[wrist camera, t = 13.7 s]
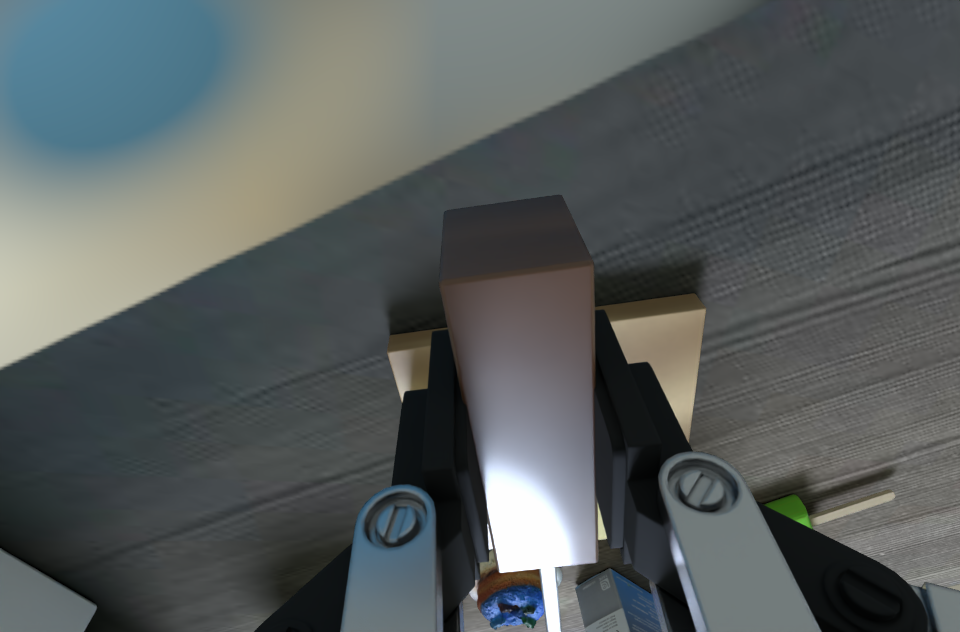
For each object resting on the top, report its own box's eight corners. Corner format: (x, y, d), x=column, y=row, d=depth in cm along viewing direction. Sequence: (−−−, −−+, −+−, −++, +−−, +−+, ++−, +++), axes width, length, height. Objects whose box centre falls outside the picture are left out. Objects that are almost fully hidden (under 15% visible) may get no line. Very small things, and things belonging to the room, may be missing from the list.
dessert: (506, 539, 36) (548, 628, 34) (553, 518, 42) (592, 593, 39) (436, 581, 40) (469, 664, 38) (487, 556, 45) (519, 627, 43)
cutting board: (389, 334, 27) (386, 352, 26) (694, 292, 27) (706, 308, 25) (447, 535, 37) (447, 555, 36) (670, 507, 37) (678, 526, 35)
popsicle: (667, 535, 38) (677, 559, 37) (880, 460, 35) (900, 483, 33) (689, 569, 41) (698, 593, 40) (887, 502, 38) (907, 526, 36)
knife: (443, 208, 10) (437, 282, 8) (562, 192, 10) (595, 261, 8) (520, 631, 20) (528, 726, 17) (583, 624, 19) (601, 719, 17)
